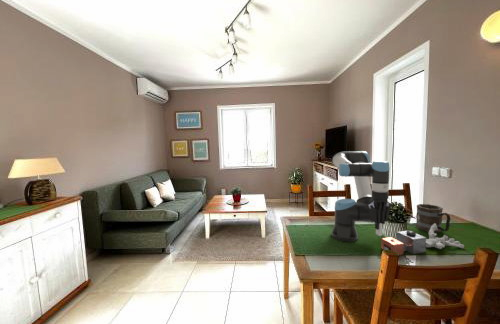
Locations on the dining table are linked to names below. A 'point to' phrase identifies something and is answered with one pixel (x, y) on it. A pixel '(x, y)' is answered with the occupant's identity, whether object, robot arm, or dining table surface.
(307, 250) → the dining table surface
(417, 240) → the hitch
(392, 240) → the red notched block
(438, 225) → the mug
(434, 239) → the white irregular jagged piece
